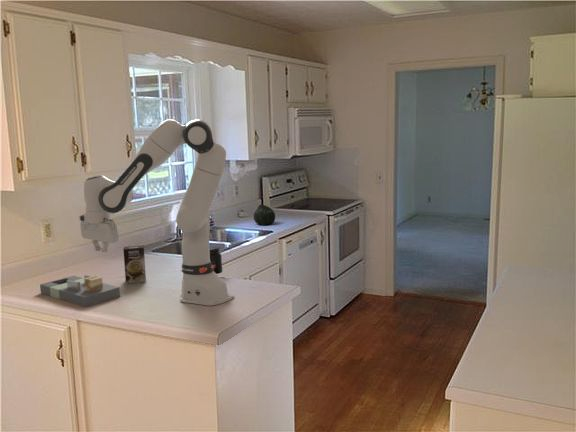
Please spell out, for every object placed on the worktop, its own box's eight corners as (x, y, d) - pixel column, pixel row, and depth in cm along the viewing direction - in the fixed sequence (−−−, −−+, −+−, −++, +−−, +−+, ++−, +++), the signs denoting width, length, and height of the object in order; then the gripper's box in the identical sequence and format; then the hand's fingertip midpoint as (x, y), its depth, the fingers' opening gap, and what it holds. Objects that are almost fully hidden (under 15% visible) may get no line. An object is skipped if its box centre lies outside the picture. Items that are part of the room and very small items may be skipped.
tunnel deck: (120, 296, 225) (118, 278, 223) (85, 307, 212) (84, 288, 211) (74, 284, 245) (73, 268, 244) (40, 293, 232) (39, 276, 231)
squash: (280, 217, 376) (272, 200, 382) (261, 220, 368) (253, 203, 374) (273, 228, 386) (265, 211, 393) (255, 231, 379) (247, 214, 385)
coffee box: (125, 284, 242) (122, 249, 240) (125, 280, 248) (123, 246, 246) (146, 282, 245) (143, 247, 242) (146, 278, 251) (143, 244, 248)
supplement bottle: (212, 270, 262) (211, 246, 260) (225, 271, 259) (223, 246, 257) (205, 273, 255) (204, 249, 254) (218, 274, 253) (216, 250, 251)
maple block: (102, 289, 222) (101, 277, 221) (92, 292, 218) (91, 280, 217) (95, 287, 225) (94, 275, 224) (85, 290, 221) (84, 278, 220)
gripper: (121, 217, 208) (123, 252, 210) (90, 214, 220) (93, 247, 222) (106, 220, 203) (110, 256, 205) (76, 216, 215) (79, 250, 217)
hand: (101, 251), depth 214 cm, fingers open, 3 cm apart
